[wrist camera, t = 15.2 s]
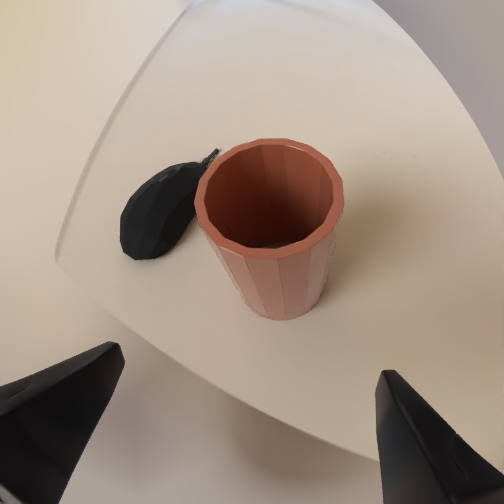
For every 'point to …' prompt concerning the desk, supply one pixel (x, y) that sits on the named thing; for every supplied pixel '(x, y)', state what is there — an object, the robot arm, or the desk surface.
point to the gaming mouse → (161, 210)
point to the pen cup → (272, 222)
